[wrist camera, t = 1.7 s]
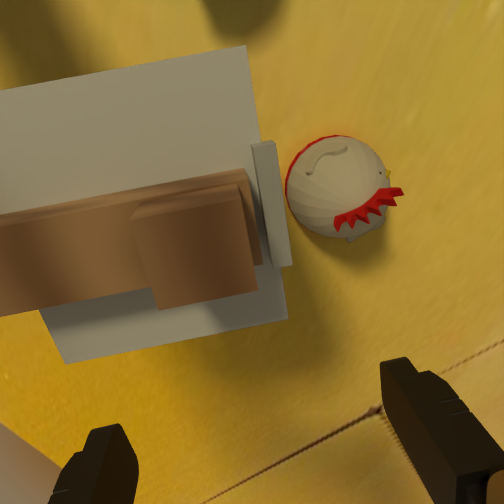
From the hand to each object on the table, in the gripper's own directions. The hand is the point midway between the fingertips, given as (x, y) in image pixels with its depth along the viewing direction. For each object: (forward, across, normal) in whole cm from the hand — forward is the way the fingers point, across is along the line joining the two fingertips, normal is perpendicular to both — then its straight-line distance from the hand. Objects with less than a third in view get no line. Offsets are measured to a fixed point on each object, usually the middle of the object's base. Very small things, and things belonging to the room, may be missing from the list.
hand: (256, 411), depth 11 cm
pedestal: (+42, -4, +4) cm, 43 cm away
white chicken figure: (+42, +15, -6) cm, 45 cm away
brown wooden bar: (+9, -9, +4) cm, 13 cm away
